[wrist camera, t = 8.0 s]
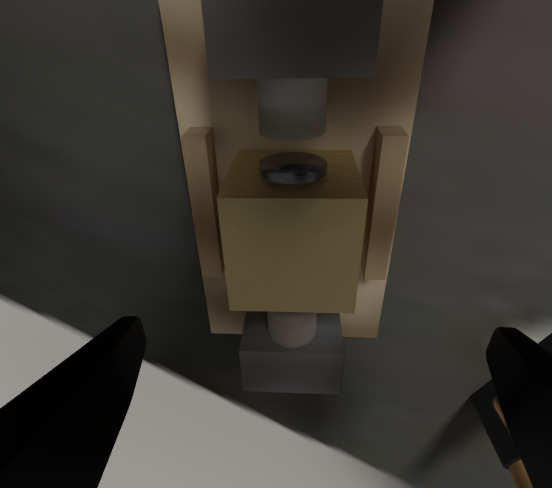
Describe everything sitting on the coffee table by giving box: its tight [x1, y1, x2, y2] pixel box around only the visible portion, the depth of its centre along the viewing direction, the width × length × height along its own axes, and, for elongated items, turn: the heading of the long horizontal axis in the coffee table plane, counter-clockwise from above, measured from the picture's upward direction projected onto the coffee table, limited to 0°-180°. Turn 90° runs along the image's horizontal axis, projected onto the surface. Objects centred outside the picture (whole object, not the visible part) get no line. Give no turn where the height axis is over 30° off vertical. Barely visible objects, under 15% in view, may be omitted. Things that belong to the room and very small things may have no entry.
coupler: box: [217, 149, 368, 314], centre depth 16 cm, size 5×6×5 cm
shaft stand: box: [158, 0, 434, 395], centre depth 17 cm, size 18×10×6 cm, turn 1°
